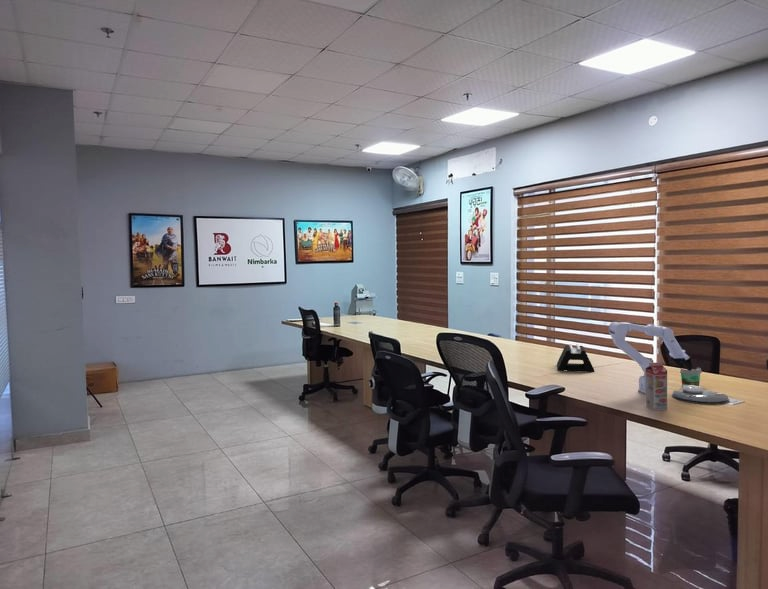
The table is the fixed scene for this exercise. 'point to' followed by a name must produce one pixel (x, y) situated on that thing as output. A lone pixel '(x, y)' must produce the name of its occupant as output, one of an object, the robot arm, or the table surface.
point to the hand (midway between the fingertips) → (686, 368)
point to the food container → (690, 376)
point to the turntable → (701, 396)
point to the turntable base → (700, 402)
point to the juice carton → (656, 386)
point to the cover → (692, 389)
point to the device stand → (574, 354)
